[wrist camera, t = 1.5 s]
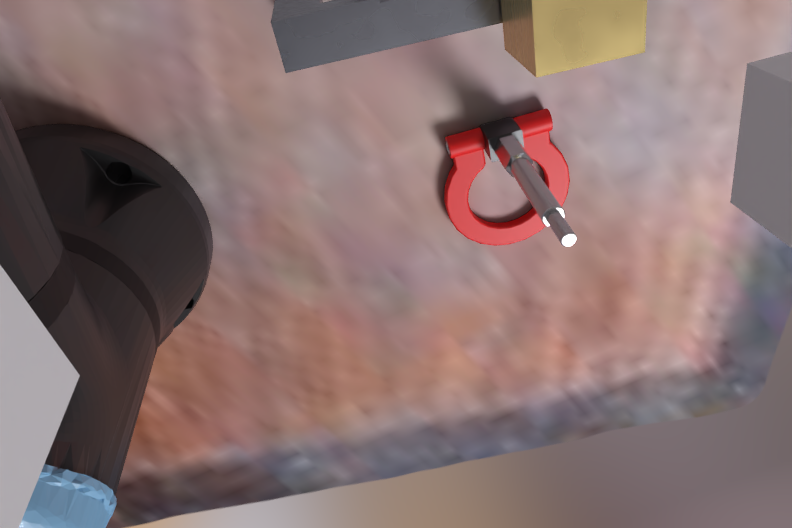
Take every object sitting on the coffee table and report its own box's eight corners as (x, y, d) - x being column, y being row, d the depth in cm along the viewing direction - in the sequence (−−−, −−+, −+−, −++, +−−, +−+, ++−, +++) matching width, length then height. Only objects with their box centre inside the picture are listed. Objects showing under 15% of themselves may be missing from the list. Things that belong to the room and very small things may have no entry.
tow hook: (567, 218, 44) (558, 98, 38) (652, 341, 33) (657, 201, 28) (454, 249, 44) (429, 135, 38) (504, 381, 34) (479, 250, 28)
